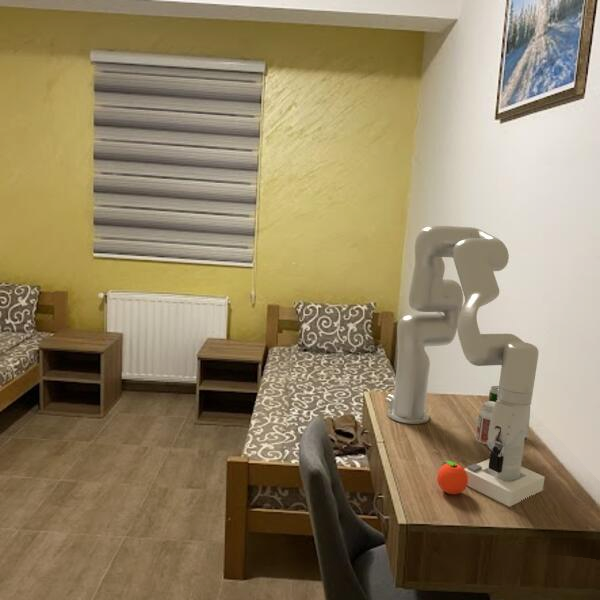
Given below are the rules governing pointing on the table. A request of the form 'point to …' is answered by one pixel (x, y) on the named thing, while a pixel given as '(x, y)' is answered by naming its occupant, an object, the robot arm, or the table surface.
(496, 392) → the beer can
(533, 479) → the socket plate
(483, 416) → the pill bottle
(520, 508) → the table surface
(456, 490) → the clementine
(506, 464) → the skincare box
